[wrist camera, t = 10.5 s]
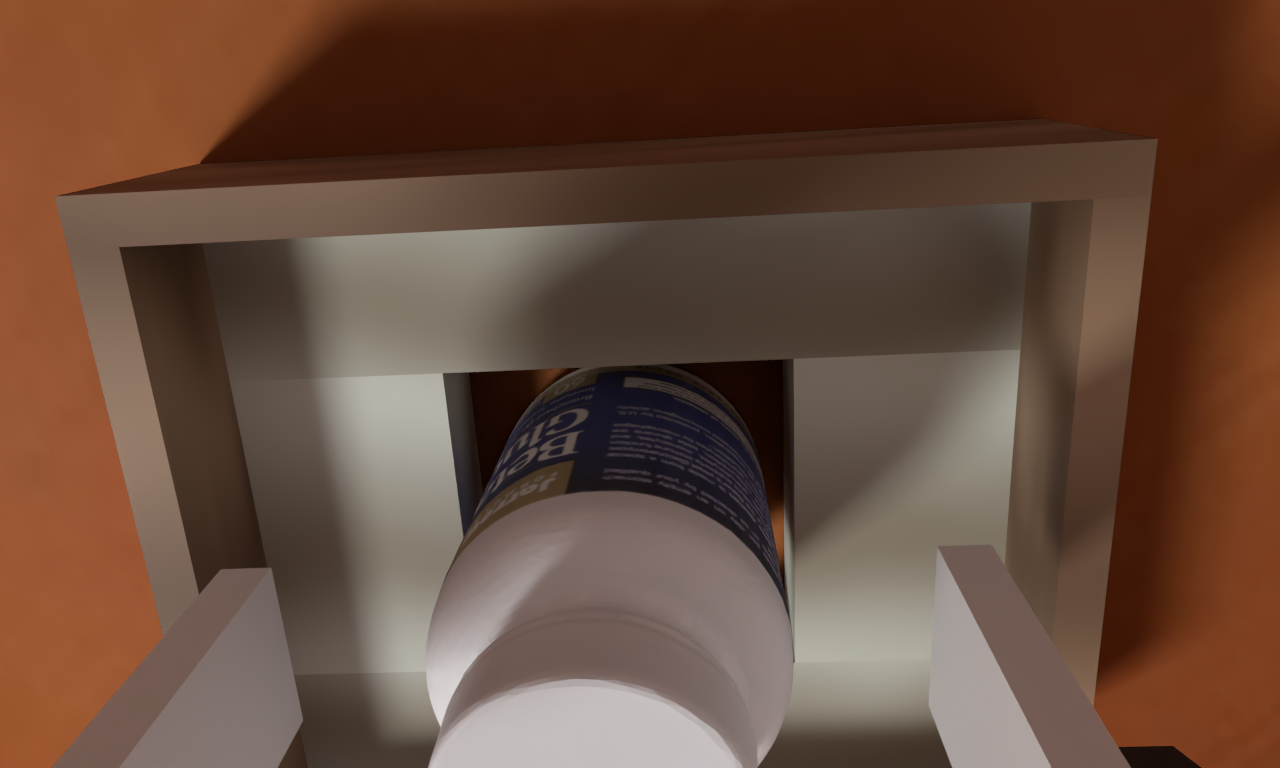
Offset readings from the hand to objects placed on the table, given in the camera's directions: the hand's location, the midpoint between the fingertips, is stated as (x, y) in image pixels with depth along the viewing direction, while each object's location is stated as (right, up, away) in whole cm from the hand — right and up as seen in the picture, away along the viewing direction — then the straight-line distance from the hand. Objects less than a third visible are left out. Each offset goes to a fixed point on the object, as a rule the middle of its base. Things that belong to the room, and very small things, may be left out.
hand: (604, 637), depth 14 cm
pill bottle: (0, +2, +6) cm, 7 cm away
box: (0, +2, +6) cm, 6 cm away
